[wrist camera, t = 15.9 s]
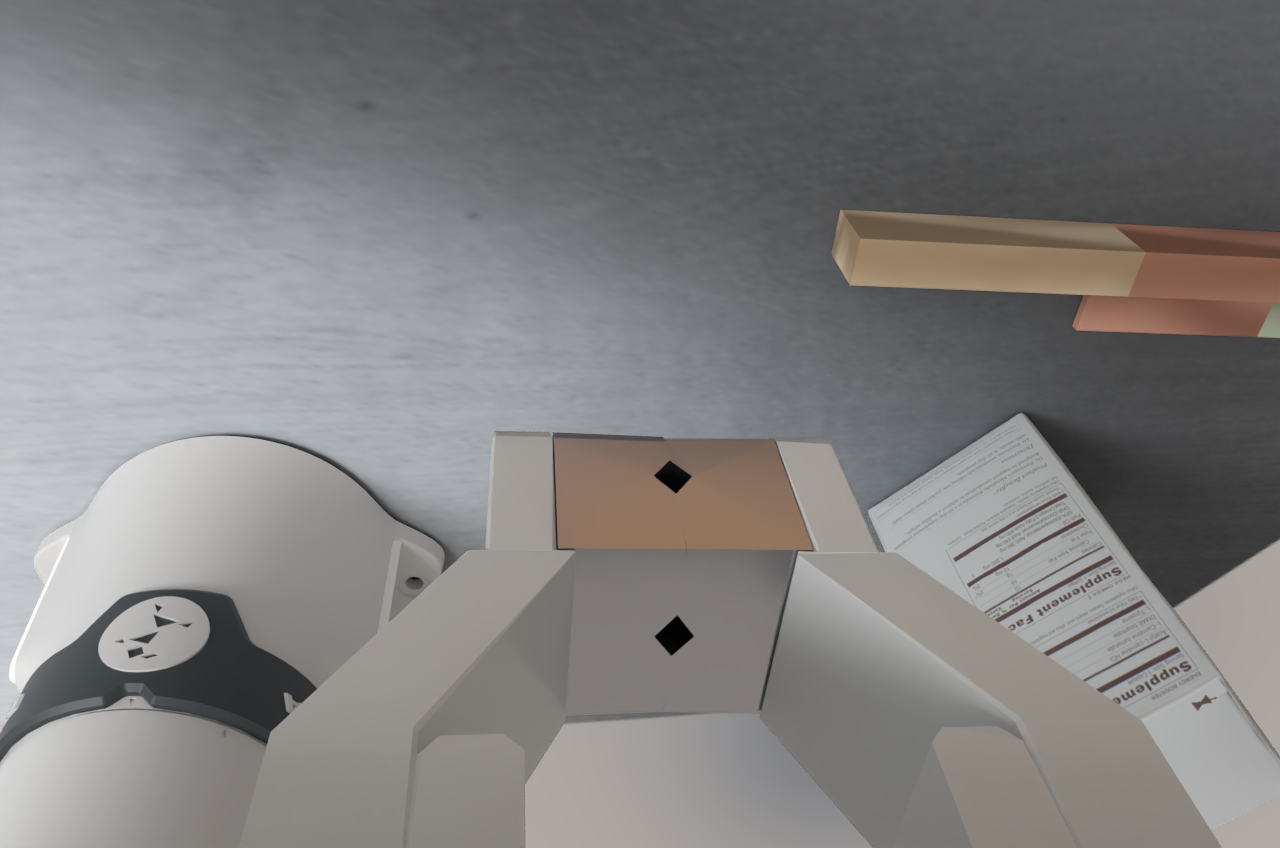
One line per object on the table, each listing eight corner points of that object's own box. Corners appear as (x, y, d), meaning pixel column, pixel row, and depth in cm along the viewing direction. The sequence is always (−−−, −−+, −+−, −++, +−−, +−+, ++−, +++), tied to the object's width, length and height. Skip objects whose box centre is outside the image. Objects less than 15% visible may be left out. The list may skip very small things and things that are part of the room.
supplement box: (861, 508, 51) (986, 795, 37) (1021, 404, 48) (1222, 671, 34) (952, 606, 55) (1094, 894, 41) (1102, 516, 52) (1310, 792, 38)
